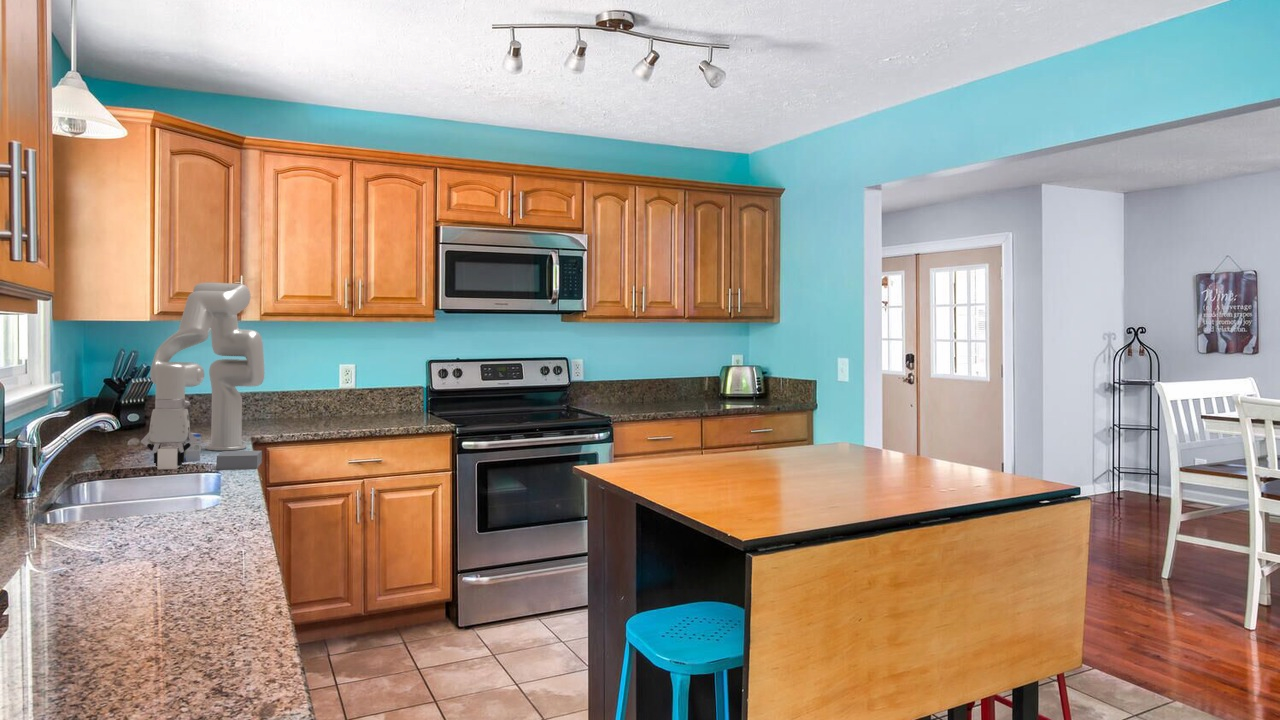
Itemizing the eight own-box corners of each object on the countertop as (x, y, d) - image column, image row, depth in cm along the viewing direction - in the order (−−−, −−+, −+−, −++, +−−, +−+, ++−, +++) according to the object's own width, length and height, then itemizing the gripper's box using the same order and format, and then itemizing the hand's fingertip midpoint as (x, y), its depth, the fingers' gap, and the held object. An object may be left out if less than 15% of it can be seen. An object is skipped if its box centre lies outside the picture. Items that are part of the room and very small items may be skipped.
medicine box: (175, 459, 251) (175, 432, 251) (190, 458, 255) (190, 431, 255) (185, 462, 247) (186, 434, 246) (200, 460, 250) (201, 433, 250)
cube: (161, 466, 237) (161, 447, 236) (180, 466, 238) (180, 446, 238) (157, 469, 232) (157, 449, 232) (176, 469, 233) (176, 448, 233)
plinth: (222, 463, 245) (222, 451, 245) (261, 463, 248) (261, 450, 248) (216, 469, 234) (216, 456, 234) (257, 468, 238) (257, 455, 238)
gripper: (204, 403, 241) (203, 463, 241) (140, 403, 235) (139, 464, 236) (199, 405, 234) (198, 466, 234) (133, 405, 228) (132, 468, 229)
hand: (169, 464), depth 235 cm, fingers closed on cube, 5 cm apart
